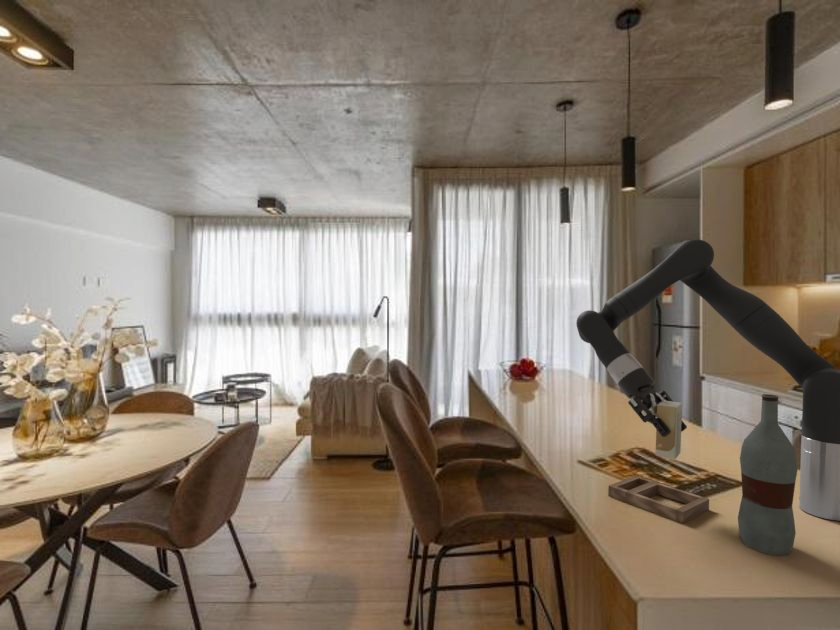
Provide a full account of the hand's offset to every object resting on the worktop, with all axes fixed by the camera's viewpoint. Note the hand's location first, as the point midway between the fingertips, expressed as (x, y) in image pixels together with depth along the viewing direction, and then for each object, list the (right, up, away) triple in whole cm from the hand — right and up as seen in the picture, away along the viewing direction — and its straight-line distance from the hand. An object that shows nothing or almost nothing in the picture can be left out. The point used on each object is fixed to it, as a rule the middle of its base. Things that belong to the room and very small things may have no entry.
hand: (675, 432), depth 112 cm
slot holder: (-2, -18, +4) cm, 18 cm away
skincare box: (-1, -6, +1) cm, 6 cm away
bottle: (+9, -19, -16) cm, 26 cm away
